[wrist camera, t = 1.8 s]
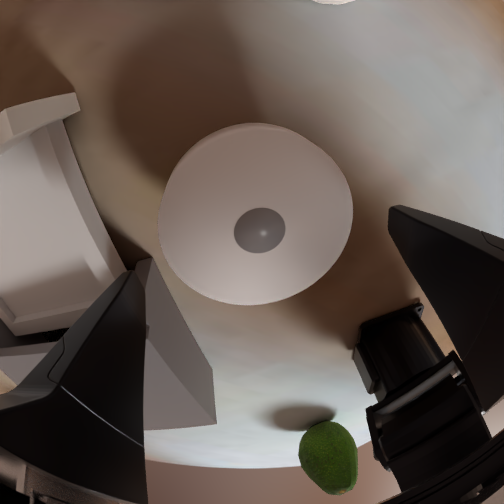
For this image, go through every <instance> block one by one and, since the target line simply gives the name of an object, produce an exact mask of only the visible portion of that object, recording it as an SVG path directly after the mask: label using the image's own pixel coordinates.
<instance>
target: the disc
mask: <svg viewBox="0 0 504 504" xmlns="http://www.w3.org/2000/svg"><path fill="white" fill-rule="evenodd" d="M352 220H353V204H352V196H351V192H350V188H349V185H348V183H347V181H346V178H345V176H344V174H343V173H342V171H341V169H340V168H339V166H338V165H337V164H336V163H335V161H334V160H333V159H332V158H331V157H330V156H329V155H328V154H327V153H326V152H324V151H323V150H322V149H321V148H319V147H318V146H317V145H315V144H314V143H312V142H311V141H309V140H307V139H306V138H304V137H303V136H301V135H299V134H298V133H296V132H294V131H292V130H289V129H287V128H285V127H281V126H277V125H273V124H266V123H243V124H237V125H232V126H229V127H226V128H222V129H220V130H218V131H215V132H213V133H211V134H209V135H207V136H206V137H204V138H203V139H201V140H200V141H198V142H197V143H196V144H195V145H193V146H192V147H191V148H190V149H189V150H188V151H187V152H186V153H185V154H184V155H183V157H182V158H181V159H180V160H179V162H178V163H177V165H176V166H175V168H174V169H173V172H172V174H171V176H170V178H169V180H168V183H167V186H166V188H165V191H164V194H163V197H162V200H161V204H160V208H159V214H158V236H159V241H160V246H161V248H162V251H163V254H164V256H165V258H166V260H167V262H168V264H169V266H170V267H171V268H172V270H173V271H174V272H175V274H176V275H177V276H178V277H179V278H180V279H181V280H182V281H183V282H184V283H185V284H187V285H188V286H189V287H190V288H192V289H193V290H195V291H196V292H198V293H200V294H202V295H204V296H206V297H208V298H211V299H214V300H217V301H220V302H224V303H229V304H236V305H259V304H267V303H271V302H276V301H279V300H282V299H286V298H288V297H290V296H293V295H295V294H297V293H299V292H301V291H303V290H305V289H306V288H308V287H309V286H311V285H312V284H314V283H315V282H316V281H318V280H319V279H320V278H321V277H322V276H323V275H324V274H325V273H326V272H327V271H328V270H329V269H330V268H331V267H332V266H333V264H334V263H335V262H336V261H337V259H338V258H339V256H340V254H341V253H342V251H343V249H344V247H345V245H346V243H347V240H348V237H349V234H350V231H351V226H352Z"/></svg>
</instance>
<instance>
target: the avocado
mask: <svg viewBox="0 0 504 504" xmlns="http://www.w3.org/2000/svg"><path fill="white" fill-rule="evenodd" d="M298 456H299V459H300V463H301V467H302V468H303V470H304V471H305V472H306V474H307V475H308V476H309V478H310V479H312V480H313V481H314V482H315V483H316V484H317V485H318V486H319V487H320V488H321V489H322V490H323V491H325V492H326V493H328V494H332V495H342V494H344V493H346V492H348V491H350V490H352V488H353V487H354V485H355V483H356V481H357V475H358V457H357V447H356V445H355V442H354V439H353V437H352V436H351V435H350V433H349V432H348V431H347V430H346V429H345V428H344V427H343V426H342V425H340V424H338V423H336V422H330V421H324V422H322V423H319V424H317V425H314V426H312V427H311V428H310V429H309V430H308V431H307V432H306V433H305V434H304V435H303V437H302V439H301V442H300V445H299V454H298Z"/></svg>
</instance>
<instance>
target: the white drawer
mask: <svg viewBox="0 0 504 504" xmlns="http://www.w3.org/2000/svg"><path fill="white" fill-rule="evenodd" d="M78 111H80V107H79V103H78V100H77V97H76V93H75V92H74V93H68V94H63V95H57V96H53V97H48V98H43V99H39V100H35V101H31V102H27V103H23V104H19V105H16V106H12V107H9V108H6V109H4V110H3V111H2V112H0V318H1V319H2V321H3V322H4V323H5V324H6V326H7V327H8V328H9V329H10V330H11V332H12V333H13V334H14V335H15V336H20V335H26V334H32V333H38V332H45V331H51V330H56V329H62V328H68V327H71V326H72V325H73V324H74V323H75V322H76V321H77V320H78V318H79V317H80V316H81V315H82V314H83V313H84V312H85V311H86V310H87V309H88V308H89V307H90V306H91V304H92V303H93V302H94V301H95V300H96V299H97V298H98V297H99V296H100V295H101V294H102V293H103V292H104V291H105V290H106V289H107V288H108V287H109V286H110V285H111V284H112V283H113V282H114V281H115V280H116V279H117V278H118V277H119V276H120V275H121V274H122V273H123V272H126V271H127V270H126V268H125V266H124V264H123V262H122V261H121V259H120V257H119V255H118V253H117V251H116V249H115V247H114V245H113V243H112V241H111V239H110V237H109V235H108V233H107V231H106V229H105V227H104V224H103V222H102V220H101V218H100V216H99V214H98V211H97V209H96V207H95V205H94V202H93V200H92V198H91V196H90V193H89V191H88V188H87V186H86V184H85V181H84V179H83V176H82V174H81V171H80V169H79V166H78V163H77V161H76V158H75V156H74V153H73V150H72V147H71V144H70V142H69V139H68V136H67V133H66V130H65V127H64V124H63V121H62V120H63V119H65V118H67V117H68V116H70V115H72V114H74V113H76V112H78Z"/></svg>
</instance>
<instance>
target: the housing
mask: <svg viewBox="0 0 504 504" xmlns="http://www.w3.org/2000/svg"><path fill="white" fill-rule="evenodd" d="M135 272H136V274H137V276H138V278H139V280H140V281H141V283H142V285H143V287H144V289H145V294H146V347H145V366H144V403H143V420H144V430H161V429H175V428H187V427H196V426H205V425H213V424H217V420H216V410H215V398H214V385H213V372H212V368H211V366H210V365H209V363H208V361H207V360H206V358H205V356H204V354H203V353H202V351H201V349H200V347H199V346H198V344H197V342H196V340H195V339H194V337H193V335H192V333H191V331H190V330H189V328H188V326H187V324H186V322H185V320H184V319H183V317H182V315H181V313H180V311H179V309H178V307H177V305H176V303H175V302H174V300H173V298H172V296H171V294H170V292H169V290H168V288H167V286H166V284H165V282H164V280H163V278H162V276H161V274H160V272H159V269H158V267H157V265H156V263H155V261H154V259H153V257H151V258H148V259H144V260H140V261H137V265H136V268H135ZM57 342H58V341H57ZM57 342H50V343H49V342H48V341H47V340H46V338H45V337H44V336H43V335H42V334H41V333H40V332H38V333H32V334H26V335H20V336H15V335H14V334H13V333H12V332H11V330H10V329H9V328H8V327H7V326H6V324H5V323H4V322H3V321H2V319H1V318H0V369H1V370H2V371H3V372H4V373H5V374H6V375H7V376H8V377H9V378H10V379H11V380H12V381H14V382H15V383H16V384H17V385H19V384H20V383H21V381H22V380H23V379H24V378H25V377H26V376H27V375H28V374H29V373H30V372H31V371H32V369H33V368H34V367H35V366H36V365H37V364H38V363H39V362H40V361H41V360H42V359H43V358H44V357H45V355H46V354H47V353H48V352H49V351H50V350H51V349H52V348H53V347H54V345H55V344H56V343H57Z"/></svg>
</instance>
